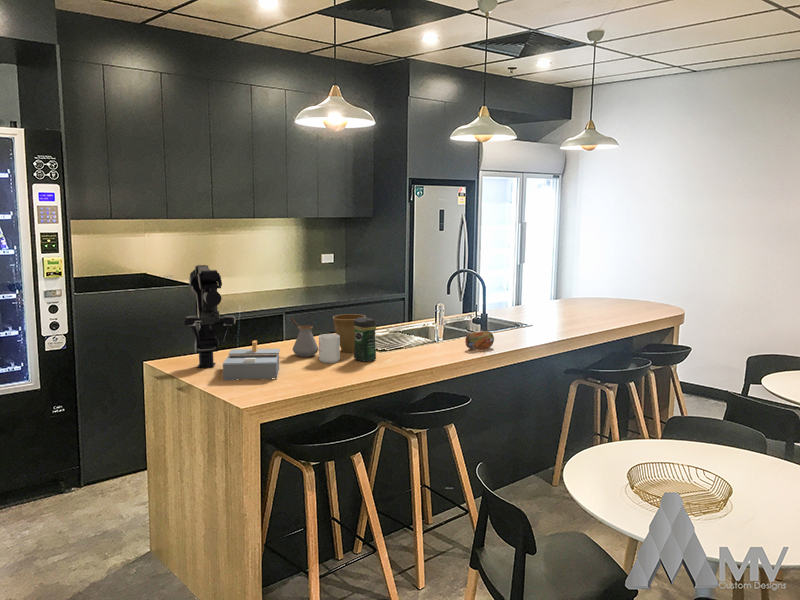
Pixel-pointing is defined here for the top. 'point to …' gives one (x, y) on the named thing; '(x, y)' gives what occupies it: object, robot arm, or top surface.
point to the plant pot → (346, 330)
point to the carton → (251, 369)
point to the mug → (329, 348)
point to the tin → (479, 340)
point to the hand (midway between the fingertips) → (210, 342)
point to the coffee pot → (304, 341)
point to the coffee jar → (364, 339)
